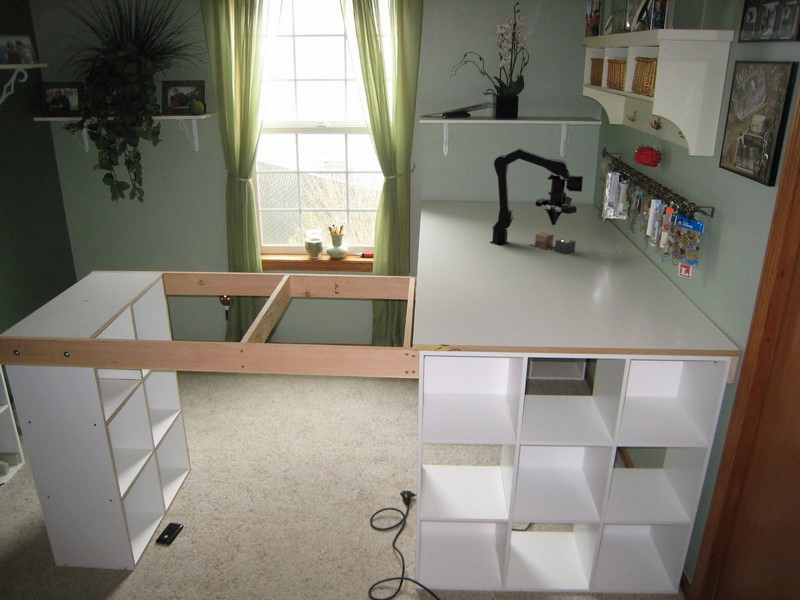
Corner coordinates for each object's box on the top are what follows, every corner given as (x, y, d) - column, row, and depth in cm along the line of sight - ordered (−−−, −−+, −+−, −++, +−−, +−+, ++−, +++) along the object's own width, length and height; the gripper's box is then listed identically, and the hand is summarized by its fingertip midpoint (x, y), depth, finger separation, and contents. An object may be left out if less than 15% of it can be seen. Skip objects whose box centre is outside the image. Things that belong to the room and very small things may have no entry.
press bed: (545, 249, 287) (545, 249, 287) (529, 245, 293) (529, 244, 293) (558, 246, 292) (558, 245, 292) (542, 242, 299) (542, 241, 298)
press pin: (565, 252, 282) (566, 241, 280) (558, 250, 284) (559, 239, 283) (570, 251, 284) (571, 240, 282) (563, 249, 287) (564, 238, 285)
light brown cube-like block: (544, 247, 289) (545, 236, 287) (535, 244, 293) (535, 234, 291) (552, 245, 292) (553, 234, 290) (542, 242, 296) (543, 232, 294)
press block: (565, 254, 280) (567, 243, 279) (554, 251, 285) (555, 240, 283) (574, 251, 284) (575, 240, 282) (563, 248, 288) (564, 238, 286)
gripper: (586, 191, 279) (582, 227, 285) (552, 184, 293) (548, 218, 299) (570, 194, 273) (565, 230, 278) (536, 187, 286) (532, 221, 292)
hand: (553, 225), depth 287 cm, fingers closed
